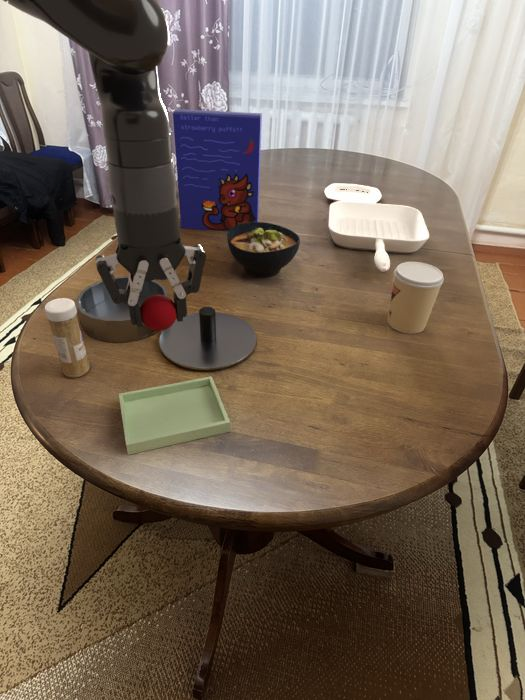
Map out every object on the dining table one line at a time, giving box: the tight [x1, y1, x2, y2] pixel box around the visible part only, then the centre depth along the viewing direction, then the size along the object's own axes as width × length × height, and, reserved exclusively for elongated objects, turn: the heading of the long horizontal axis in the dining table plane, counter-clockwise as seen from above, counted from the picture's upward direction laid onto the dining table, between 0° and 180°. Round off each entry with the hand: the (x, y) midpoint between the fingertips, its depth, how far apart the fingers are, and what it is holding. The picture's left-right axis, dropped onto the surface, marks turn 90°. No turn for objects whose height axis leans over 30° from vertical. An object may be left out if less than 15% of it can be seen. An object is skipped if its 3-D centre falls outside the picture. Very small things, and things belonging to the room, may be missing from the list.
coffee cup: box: [387, 261, 445, 335], centre depth 94 cm, size 9×9×12 cm
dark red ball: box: [140, 294, 177, 332], centre depth 64 cm, size 5×5×5 cm
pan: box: [327, 201, 430, 273], centre depth 126 cm, size 27×44×5 cm, turn 172°
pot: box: [75, 275, 169, 344], centre depth 94 cm, size 17×17×5 cm
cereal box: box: [172, 108, 263, 232], centre depth 126 cm, size 22×6×30 cm, turn 87°
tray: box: [118, 375, 231, 456], centre depth 72 cm, size 15×11×2 cm
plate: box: [324, 182, 383, 203], centre depth 159 cm, size 19×19×2 cm
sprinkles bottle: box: [44, 297, 91, 378], centre depth 77 cm, size 5×5×13 cm
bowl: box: [226, 221, 301, 278], centre depth 111 cm, size 17×17×10 cm
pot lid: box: [158, 306, 257, 371], centre depth 87 cm, size 18×18×7 cm
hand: (159, 321), depth 64 cm, fingers closed on dark red ball, 5 cm apart
